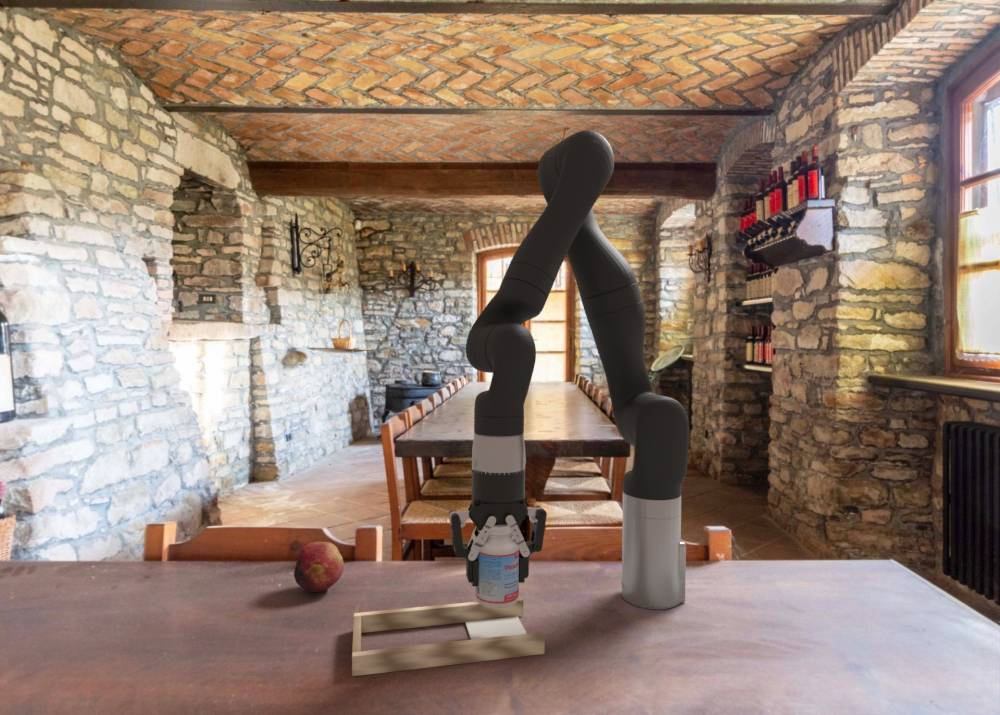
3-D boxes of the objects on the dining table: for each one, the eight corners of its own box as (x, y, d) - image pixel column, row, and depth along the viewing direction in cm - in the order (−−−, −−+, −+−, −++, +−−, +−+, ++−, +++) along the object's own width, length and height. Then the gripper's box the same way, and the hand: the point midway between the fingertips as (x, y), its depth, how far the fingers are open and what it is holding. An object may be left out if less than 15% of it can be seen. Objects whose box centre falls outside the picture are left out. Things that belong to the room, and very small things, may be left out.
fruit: (349, 593, 98) (349, 545, 98) (302, 605, 94) (302, 555, 93) (334, 578, 104) (333, 533, 104) (289, 588, 100) (288, 541, 100)
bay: (521, 613, 91) (521, 597, 91) (544, 653, 79) (544, 635, 79) (354, 630, 86) (354, 613, 86) (352, 676, 74) (352, 656, 74)
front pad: (517, 618, 89) (517, 616, 89) (534, 648, 81) (534, 646, 81) (465, 623, 88) (465, 621, 88) (476, 655, 79) (476, 653, 79)
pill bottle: (514, 612, 81) (515, 530, 80) (471, 607, 82) (471, 527, 81) (522, 593, 86) (522, 517, 86) (481, 589, 88) (482, 514, 87)
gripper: (540, 458, 89) (538, 569, 89) (444, 461, 86) (443, 576, 86) (555, 468, 81) (553, 589, 82) (451, 472, 78) (450, 598, 79)
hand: (497, 582), depth 84 cm, fingers closed on pill bottle, 6 cm apart
